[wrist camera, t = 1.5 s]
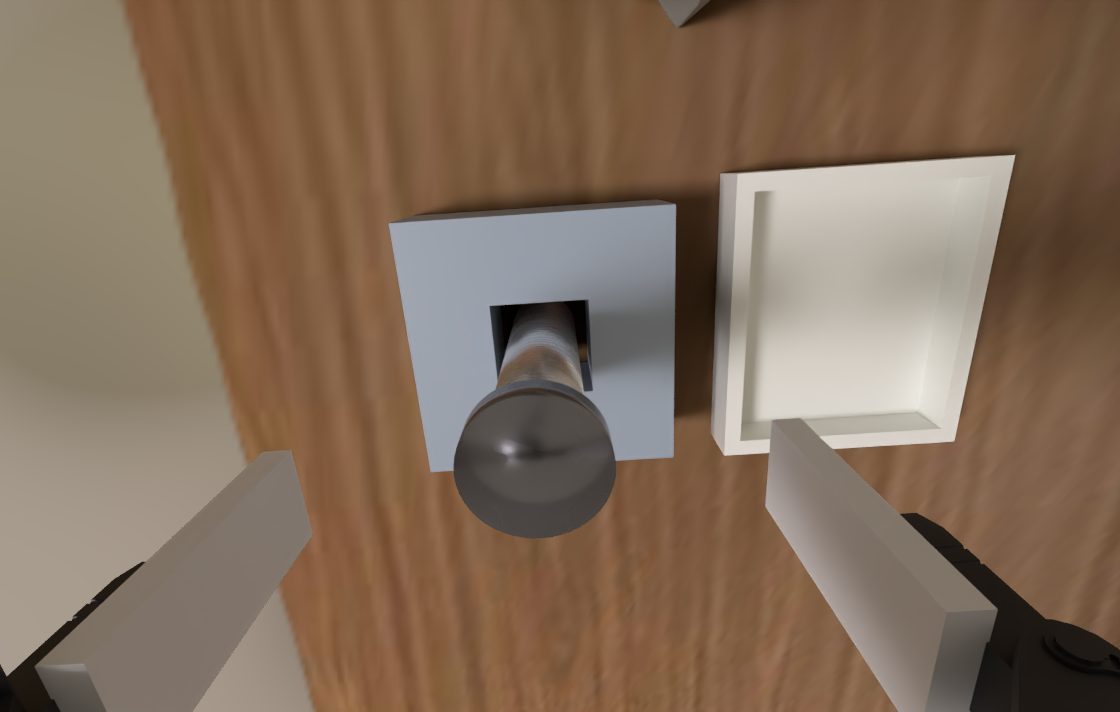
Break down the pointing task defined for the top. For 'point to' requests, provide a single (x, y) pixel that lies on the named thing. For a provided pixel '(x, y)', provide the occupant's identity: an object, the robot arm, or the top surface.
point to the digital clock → (681, 9)
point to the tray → (852, 298)
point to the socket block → (534, 277)
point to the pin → (536, 435)
